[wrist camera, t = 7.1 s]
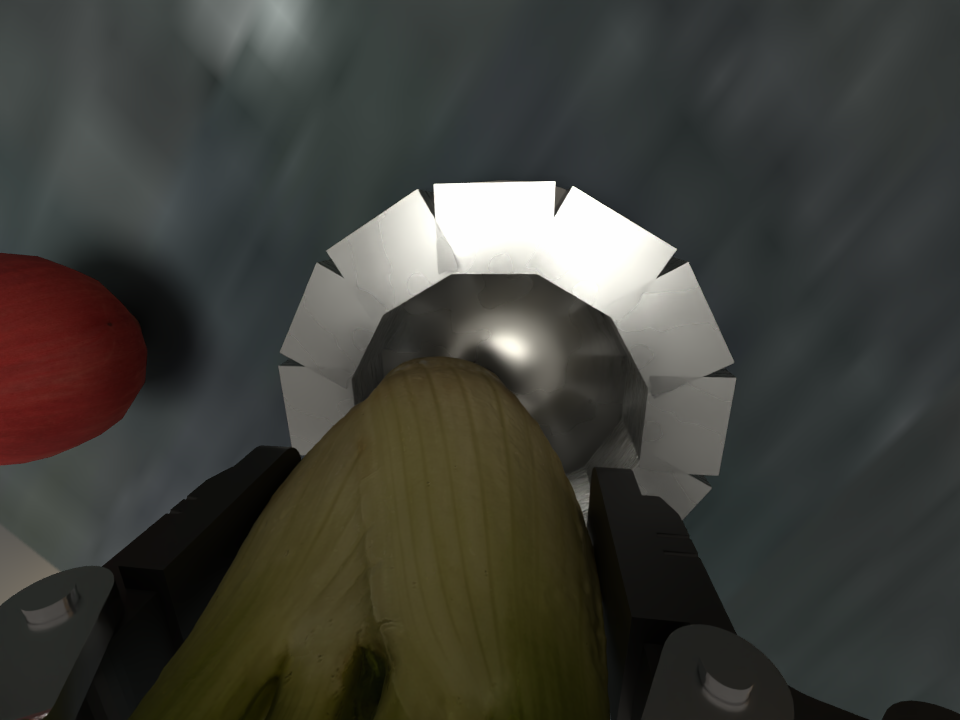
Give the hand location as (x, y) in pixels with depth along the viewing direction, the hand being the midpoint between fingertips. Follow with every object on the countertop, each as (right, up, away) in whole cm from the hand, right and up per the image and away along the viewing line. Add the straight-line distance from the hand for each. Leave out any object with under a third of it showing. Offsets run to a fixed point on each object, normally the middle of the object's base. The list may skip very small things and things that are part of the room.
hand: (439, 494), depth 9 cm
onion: (-12, +4, +7) cm, 14 cm away
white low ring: (+2, +2, +5) cm, 6 cm away
